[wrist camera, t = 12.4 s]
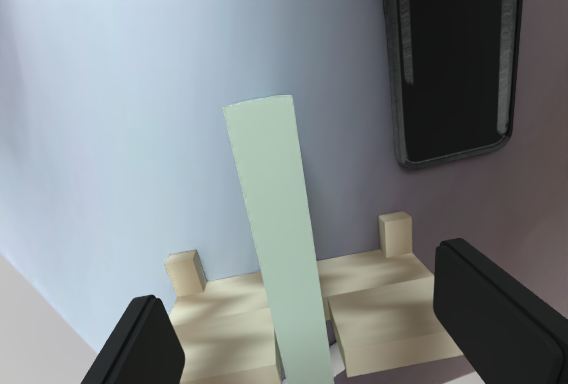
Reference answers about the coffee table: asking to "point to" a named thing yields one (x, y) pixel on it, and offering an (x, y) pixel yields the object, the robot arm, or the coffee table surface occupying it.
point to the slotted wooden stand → (337, 307)
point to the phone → (451, 77)
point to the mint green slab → (282, 231)
